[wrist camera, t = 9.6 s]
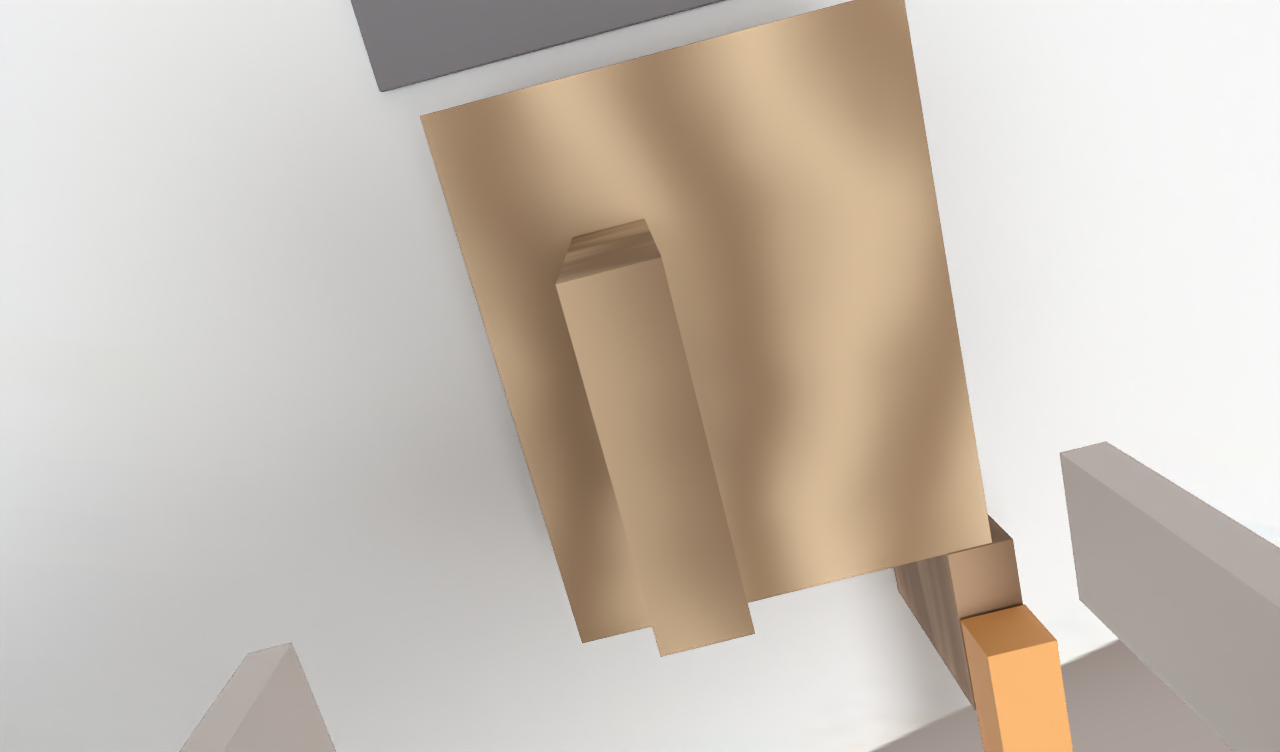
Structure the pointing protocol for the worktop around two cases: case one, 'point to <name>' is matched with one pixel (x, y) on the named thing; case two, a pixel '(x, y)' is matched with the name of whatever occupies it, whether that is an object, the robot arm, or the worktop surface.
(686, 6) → the mat
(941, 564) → the open wooden box
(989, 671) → the orange rectangular block
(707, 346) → the lid
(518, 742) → the worktop surface
